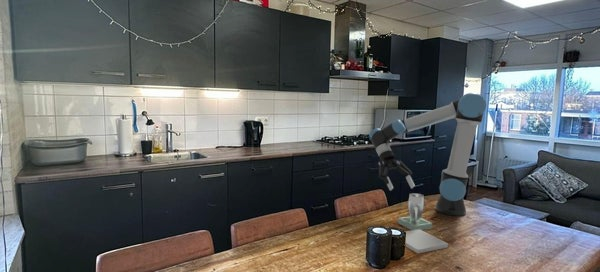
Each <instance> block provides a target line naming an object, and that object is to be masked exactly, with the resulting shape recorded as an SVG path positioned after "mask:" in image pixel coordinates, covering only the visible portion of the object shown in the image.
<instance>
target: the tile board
mask: <svg viewBox="0 0 600 272" xmlns="http://www.w3.org/2000/svg"><path fill="white" fill-rule="evenodd" d="M405 232H406V246H405V247H406V248H408V249H409V250H411V251H412V252H415V253H416V254H423V253H427V252H431V251H436V250H441V249H446V248H448V247H449V243H448V242H445V241H444V240H442V239H440V238H438V237H435V236H434V235H432V234H429V233H428V232H425V230H420V229H417V230H406V231H405Z"/></svg>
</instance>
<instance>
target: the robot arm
mask: <svg viewBox="0 0 600 272" xmlns="http://www.w3.org/2000/svg"><path fill="white" fill-rule="evenodd" d="M486 109H487V101H486V98H485V97H484V96H483V95H481V94H479V93H478V92H477V93H476V92H467V93H465V94H464V95H462V96H461V97H460V98H458V99H456V100H454V101H451V102H450V104H447V105H444V106H442V107H438V108H435V109H433V110H428V111H426V112H423V113H420V114H417V115H415V116H411V117H407V118H405V119H403V120H401V119H395V120H394V121H392V122H391V123H390V124H388V125H387V126H385V127H384V128H382V129H381V128H379V127H376V128H375V129H374V128H373V129H371V131H369V133H368V134H369V139H370V141H371V143H372V145H373V148H374V150H375V151H376V153H377V155H378V156H377V157H379V160H378V161H379V162H377V164H378V178H379V179H380V180H382V181H384V184H386V186H387V188H388V190H389V191H390V192H391V191H393V189H394V186H393V183H392V181H391V179H390V177H389V176H388V172H389V170H395V171H398V172H399V173H400V174H402V175H404V177H405V179H406V181H407V183H408V185H409V187H410V189H414V187H416V185H415V183H414V179H413V177H412V175H413V174H414V173H413V172H412V171H411V169H410V168H408V166H407V165H406V164H404V163H403V161H402V159H398V160H396V158H395V157H396V156H395V154H394V152H393V150H392V149H391V146H390V144H389V142H390V141H392V140H393V139H395V138H396V137H398V136H401V135H403V134H404V135H405V134H406V133H407V134H408V133H410V132H413V131H416V130H419V129H422V128H425V127H426V128H427V127H428V126H433V125H435V124H439V123H442V122H445V121H449V120H452V119H455V120H456V121H457V125H456V130H455V133H454V138H453V141H452V142H453V143H452V146H451V151H450V154H449V155H450V156H449V160H448V164H447V168H445V169H442V171H441V175H440V176H441V178H440V184H439V187H438V189H439V197H438V200H437V202H436V204H435V210H436V211H437V212H439V213H442V214H445V215H449V216H455V217H456V216H458V217H459V216H465V215H466V214H467V208H466V204H465V200H464V197H465V195H466V193H467V184H468V180H469V175H468V173H467V169H468V165H469V160H470V156H471V152H472V148H473V144H474V139H475V136H476V131H477V127H478V125H480V124H482V122H483V117H484V114H485V111H486Z"/></svg>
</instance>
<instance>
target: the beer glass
mask: <svg viewBox="0 0 600 272" xmlns="http://www.w3.org/2000/svg"><path fill="white" fill-rule="evenodd" d="M424 206H425V196H424V194H421V193H416V192H415V193H409V197H408V217H409V223H411V224H413V225H419V224H421V218H422V215H423V212H424V208H425V207H424Z"/></svg>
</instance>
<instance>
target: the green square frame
mask: <svg viewBox="0 0 600 272" xmlns="http://www.w3.org/2000/svg"><path fill="white" fill-rule="evenodd" d="M397 224H399V225H402V226H403V227H404V228H407V229H409V231H411V230H417V229H420V230H422V231H425V230H431V229H433V222H431V221H428V220H427V219H424V218H422V217H421V224H419V225H413V224H411V223H409V216H402V217H398V218H397Z"/></svg>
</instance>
